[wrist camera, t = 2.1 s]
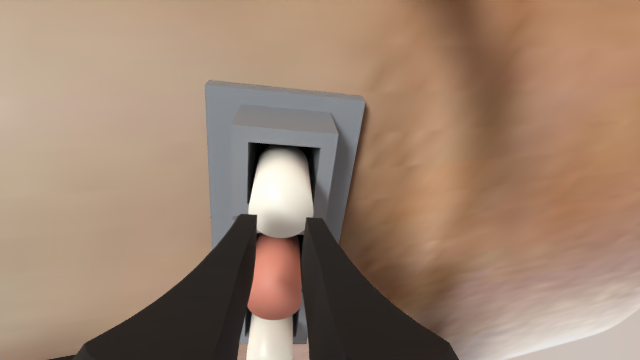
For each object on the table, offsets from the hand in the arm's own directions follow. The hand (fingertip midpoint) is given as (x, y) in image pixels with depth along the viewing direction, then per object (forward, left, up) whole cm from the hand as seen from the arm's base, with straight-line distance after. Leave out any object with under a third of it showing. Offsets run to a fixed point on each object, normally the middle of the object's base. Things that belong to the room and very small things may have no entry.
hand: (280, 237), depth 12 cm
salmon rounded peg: (0, +6, -6) cm, 8 cm away
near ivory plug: (0, 0, -6) cm, 6 cm away
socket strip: (0, +6, -10) cm, 11 cm away
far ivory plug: (0, +11, -6) cm, 13 cm away
